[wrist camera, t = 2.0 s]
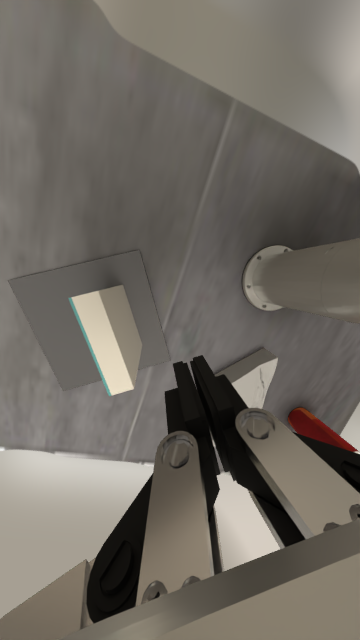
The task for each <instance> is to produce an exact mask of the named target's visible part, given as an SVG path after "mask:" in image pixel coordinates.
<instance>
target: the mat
mask: <svg viewBox="0 0 360 640" xmlns="http://www.w3.org/2000/svg"><path fill="white" fill-rule="evenodd" d="M8 282H9V284H10V286H11V288H12V290H13V292H14V294H15V296H16V298H17V300H18V302H19V304H20V306H21V308H22V310H23V312H24V314H25V316H26V318H27V320H28V322H29V324H30V326H31V328H32V330H33V332H34V334H35V336H36V338H37V340H38V342H39V344H40V346H41V348H42V350H43V352H44V354H45V356H46V358H47V360H48V362H49V364H50V366H51V368H52V370H53V372H54V374H55V376H56V378H57V380H58V382H59V384H60V386H61V388H62V390H63V391H66V390H69V389H73V388H76V387H80V386H83V385H87V384H90V383H94V382H97V381H101V380H102V378H101V375H100V373H99V371H98V368H97V366H96V363H95V361H94V359H93V356H92V354H91V351H90V349H89V347H88V344H87V342H86V340H85V337H84V335H83V332H82V330H81V328H80V325H79V323H78V320H77V318H76V316H75V313H74V311H73V308H72V306H71V304H70V301H69V299H68V298H71V297H75V296H79V295H83V294H87V293H91V292H95V291H99V290H103V289H107V288H111V287H115V286H119V285H123V287H124V290H125V293H126V296H127V299H128V302H129V305H130V308H131V311H132V314H133V318H134V321H135V324H136V327H137V330H138V333H139V336H140V339H141V342H142V349H141V354H140V360H139V365H138V370H139V369H143V368H146V367H150V366H153V365H157V364H160V363H164V362H167V361H171V360H170V356H169V353H168V349H167V346H166V342H165V339H164V335H163V332H162V328H161V324H160V321H159V317H158V314H157V310H156V307H155V303H154V300H153V296H152V293H151V289H150V285H149V282H148V278H147V275H146V271H145V268H144V264H143V261H142V257H141V254H140V250H136V251H132V252H127V253H123V254H119V255H115V256H110V257H106V258H102V259H97V260H93V261H89V262H85V263H80V264H76V265H72V266H68V267H63V268H59V269H55V270H51V271H46V272H42V273H38V274H33V275H29V276H25V277H21V278H16V279H12V280H8Z"/></svg>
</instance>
